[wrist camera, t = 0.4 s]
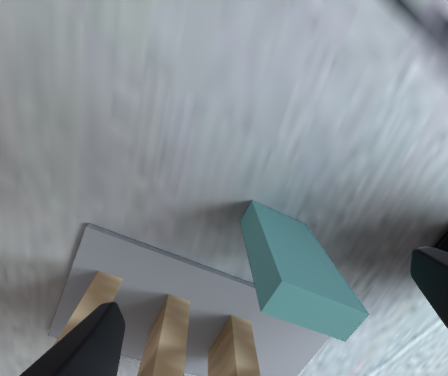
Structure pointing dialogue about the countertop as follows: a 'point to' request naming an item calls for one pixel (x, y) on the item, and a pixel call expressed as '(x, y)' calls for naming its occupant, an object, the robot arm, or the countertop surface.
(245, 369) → the maple tile
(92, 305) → the maple tile
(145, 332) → the slate mat
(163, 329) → the maple tile
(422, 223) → the countertop surface
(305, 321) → the teal tile
